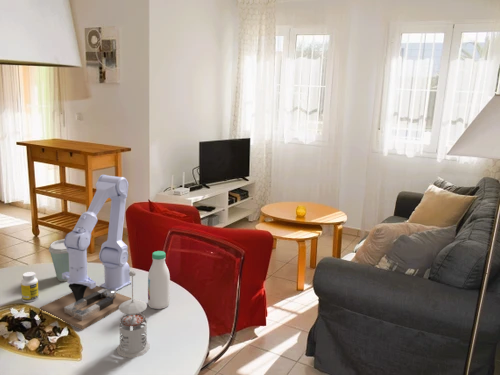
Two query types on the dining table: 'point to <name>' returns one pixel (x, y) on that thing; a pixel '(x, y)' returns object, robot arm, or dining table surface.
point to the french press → (133, 340)
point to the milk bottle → (158, 282)
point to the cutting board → (59, 304)
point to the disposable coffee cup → (59, 258)
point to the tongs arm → (89, 300)
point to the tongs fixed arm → (93, 309)
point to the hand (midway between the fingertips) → (79, 301)
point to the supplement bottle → (29, 287)
